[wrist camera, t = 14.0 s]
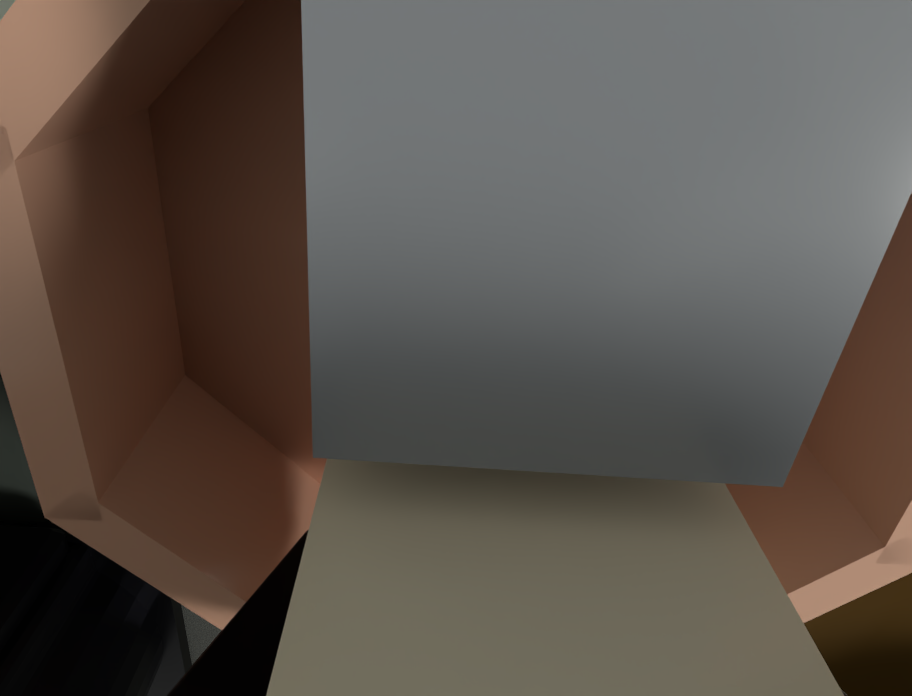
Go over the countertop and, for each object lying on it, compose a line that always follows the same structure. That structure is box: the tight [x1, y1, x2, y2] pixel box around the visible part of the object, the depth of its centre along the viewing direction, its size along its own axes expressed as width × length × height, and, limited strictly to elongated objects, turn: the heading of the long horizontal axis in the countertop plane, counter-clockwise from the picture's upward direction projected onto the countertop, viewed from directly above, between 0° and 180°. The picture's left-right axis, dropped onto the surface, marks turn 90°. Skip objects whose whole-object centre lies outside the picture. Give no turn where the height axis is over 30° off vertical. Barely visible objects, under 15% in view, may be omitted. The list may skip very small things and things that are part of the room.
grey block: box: [301, 0, 912, 487], centre depth 7 cm, size 4×4×6 cm
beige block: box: [266, 459, 844, 696], centre depth 8 cm, size 4×4×6 cm
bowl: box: [0, 0, 912, 630], centre depth 10 cm, size 13×13×4 cm
